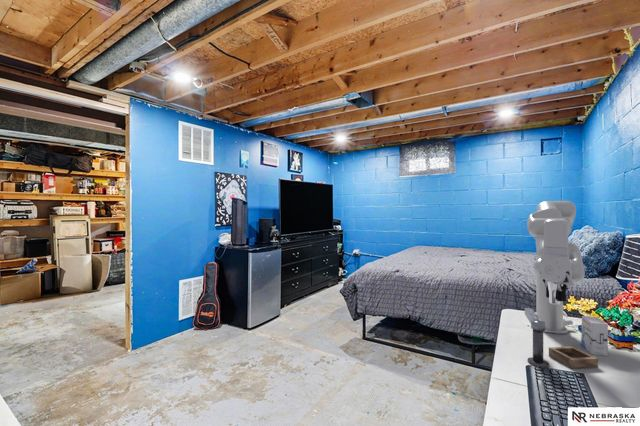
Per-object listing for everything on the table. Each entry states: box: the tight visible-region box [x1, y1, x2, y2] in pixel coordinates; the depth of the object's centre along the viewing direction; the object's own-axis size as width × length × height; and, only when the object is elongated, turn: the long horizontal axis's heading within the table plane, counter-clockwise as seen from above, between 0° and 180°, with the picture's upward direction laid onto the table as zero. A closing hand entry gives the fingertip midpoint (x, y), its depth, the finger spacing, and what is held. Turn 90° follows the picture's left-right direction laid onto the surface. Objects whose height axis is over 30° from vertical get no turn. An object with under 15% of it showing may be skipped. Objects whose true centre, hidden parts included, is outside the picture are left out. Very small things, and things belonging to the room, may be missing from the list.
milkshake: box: [548, 281, 563, 305], centre depth 116 cm, size 4×5×10 cm
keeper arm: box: [524, 307, 545, 332], centre depth 111 cm, size 18×4×2 cm, turn 155°
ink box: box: [580, 315, 609, 357], centre depth 115 cm, size 9×5×12 cm, turn 160°
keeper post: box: [527, 329, 550, 369], centre depth 105 cm, size 6×6×12 cm
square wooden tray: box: [548, 345, 599, 370], centre depth 106 cm, size 9×9×3 cm
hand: (555, 298), depth 116 cm, fingers closed on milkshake, 4 cm apart
